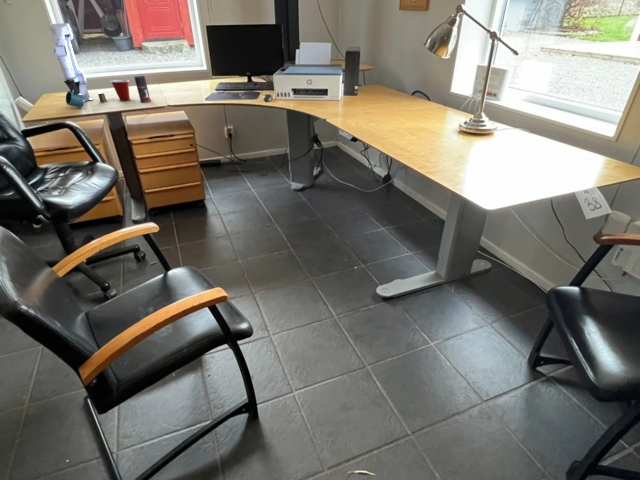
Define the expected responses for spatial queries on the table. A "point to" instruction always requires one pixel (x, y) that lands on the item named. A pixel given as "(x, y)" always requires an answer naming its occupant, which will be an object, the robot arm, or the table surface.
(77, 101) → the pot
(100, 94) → the block
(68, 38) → the robot arm
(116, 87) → the plastic cup
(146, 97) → the deodorant
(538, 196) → the table surface
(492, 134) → the table surface
